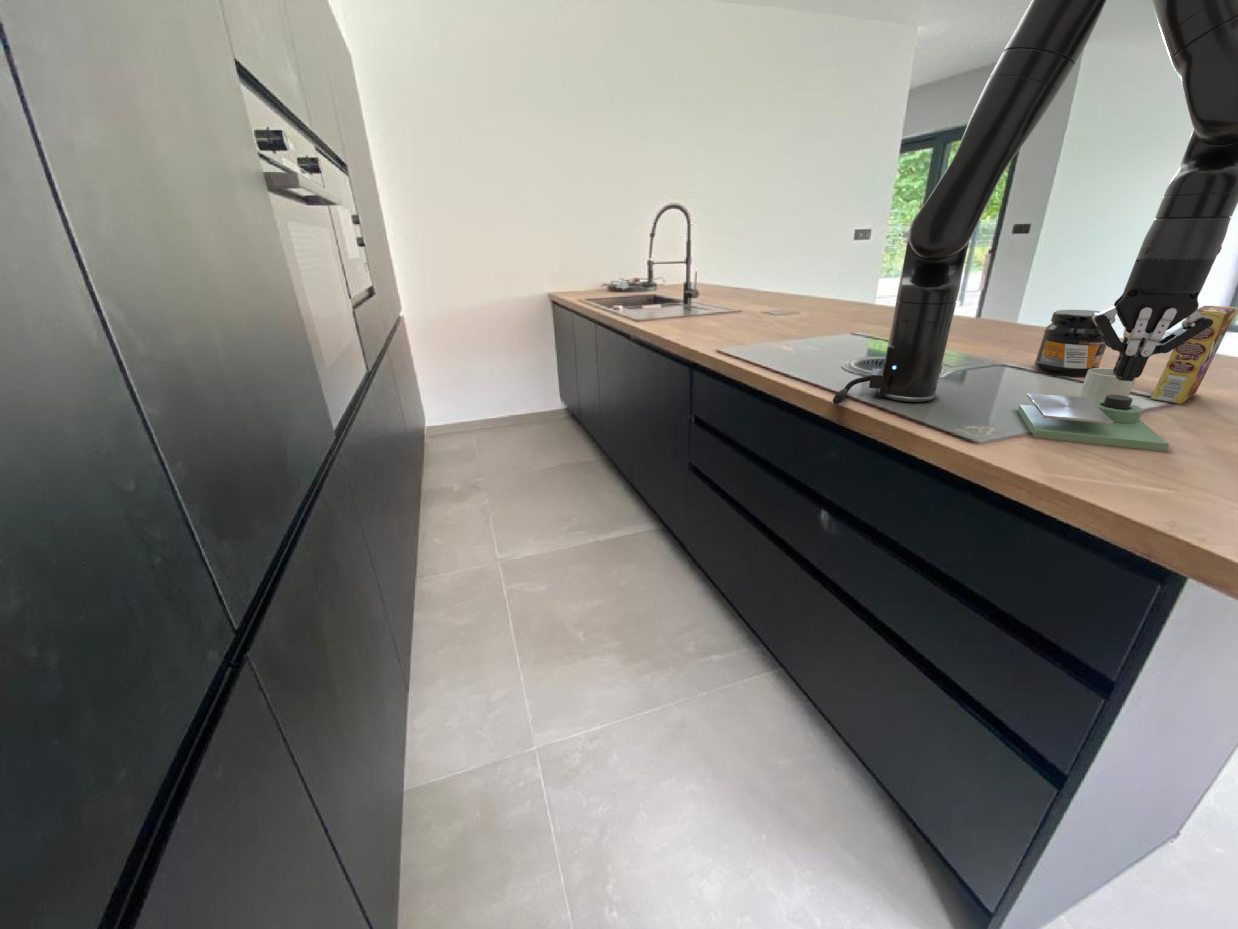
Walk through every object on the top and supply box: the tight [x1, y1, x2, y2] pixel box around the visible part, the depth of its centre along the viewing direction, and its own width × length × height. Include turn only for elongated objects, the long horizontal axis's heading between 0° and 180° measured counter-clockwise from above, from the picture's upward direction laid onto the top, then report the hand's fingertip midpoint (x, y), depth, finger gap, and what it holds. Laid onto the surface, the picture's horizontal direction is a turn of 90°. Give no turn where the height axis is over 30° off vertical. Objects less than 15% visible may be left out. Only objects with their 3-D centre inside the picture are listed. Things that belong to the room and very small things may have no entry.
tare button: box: [1103, 395, 1133, 410], centre depth 77 cm, size 3×3×2 cm
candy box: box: [1150, 305, 1238, 405], centre depth 85 cm, size 9×4×15 cm, turn 123°
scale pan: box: [1026, 392, 1114, 424], centre depth 77 cm, size 8×12×1 cm, turn 153°
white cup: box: [1078, 367, 1137, 401], centre depth 86 cm, size 6×6×6 cm
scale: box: [1017, 400, 1170, 452], centre depth 76 cm, size 14×14×3 cm
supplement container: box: [1034, 309, 1108, 377], centre depth 104 cm, size 10×10×12 cm
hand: (1123, 379), depth 75 cm, fingers closed
